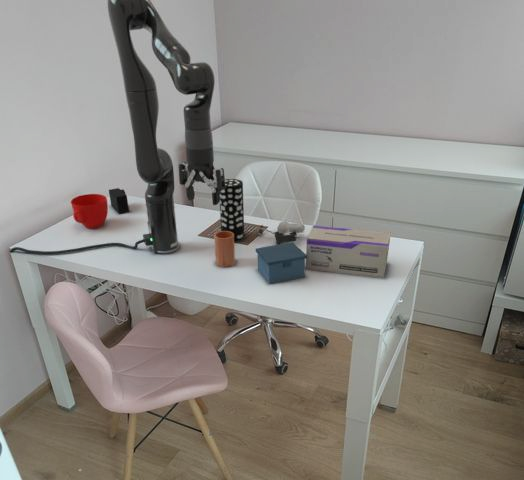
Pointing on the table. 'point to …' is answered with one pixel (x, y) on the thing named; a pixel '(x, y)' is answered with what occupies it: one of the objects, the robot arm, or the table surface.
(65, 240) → the table surface
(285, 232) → the clip-on lamp
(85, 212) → the ceramic cup
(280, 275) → the storage box
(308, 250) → the surgical sutures box
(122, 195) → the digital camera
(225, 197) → the white-spotted black cylinder
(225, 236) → the tumbler
